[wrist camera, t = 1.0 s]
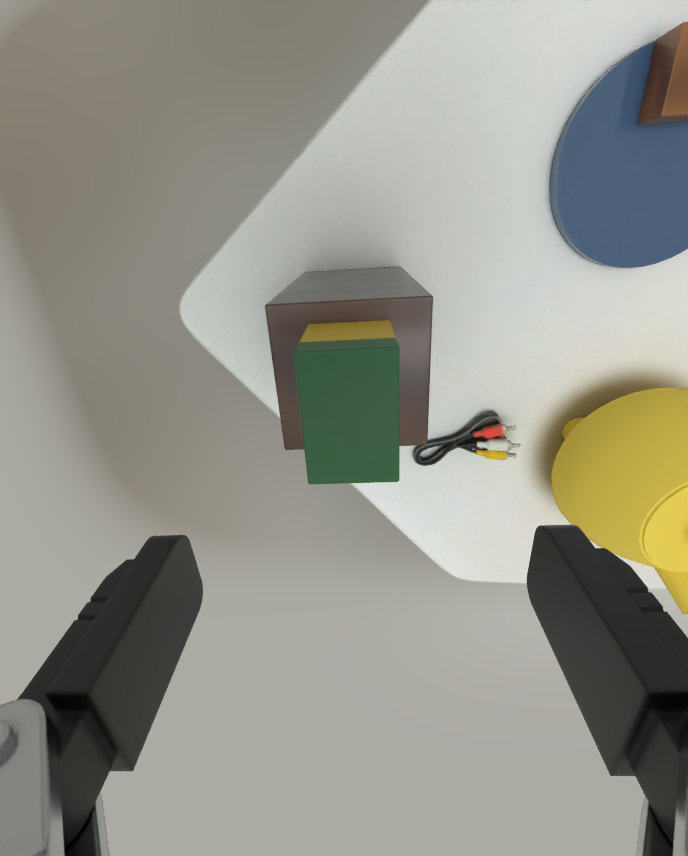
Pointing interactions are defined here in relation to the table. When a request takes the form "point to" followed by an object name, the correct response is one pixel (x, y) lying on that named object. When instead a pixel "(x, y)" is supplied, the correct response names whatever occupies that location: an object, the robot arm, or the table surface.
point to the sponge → (349, 401)
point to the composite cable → (473, 441)
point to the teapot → (631, 481)
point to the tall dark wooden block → (353, 302)
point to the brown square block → (667, 80)
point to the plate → (621, 174)
